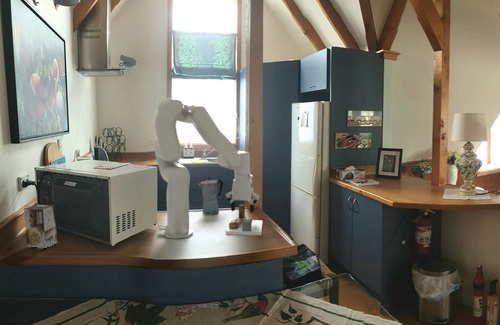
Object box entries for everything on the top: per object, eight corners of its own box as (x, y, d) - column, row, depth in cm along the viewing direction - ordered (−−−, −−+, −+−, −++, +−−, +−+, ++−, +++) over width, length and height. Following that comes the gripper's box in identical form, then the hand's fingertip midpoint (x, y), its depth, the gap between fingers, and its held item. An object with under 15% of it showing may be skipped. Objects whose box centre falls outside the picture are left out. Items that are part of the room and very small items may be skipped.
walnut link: (236, 228, 156) (236, 212, 155) (227, 227, 157) (227, 211, 156) (246, 219, 170) (247, 205, 169) (238, 219, 171) (238, 204, 170)
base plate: (225, 234, 154) (225, 231, 154) (230, 222, 172) (230, 219, 172) (261, 235, 153) (261, 232, 153) (262, 223, 171) (262, 220, 171)
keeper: (229, 230, 154) (229, 222, 154) (231, 226, 161) (231, 218, 160) (251, 231, 154) (251, 223, 153) (252, 226, 160) (252, 219, 160)
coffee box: (58, 243, 141) (55, 205, 139) (45, 249, 135) (43, 209, 133) (39, 241, 143) (36, 204, 141) (26, 247, 136) (23, 207, 134)
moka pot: (194, 213, 189) (194, 177, 186) (217, 208, 199) (216, 174, 197) (204, 216, 182) (204, 179, 179) (227, 211, 192) (227, 176, 190)
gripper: (261, 176, 167) (261, 210, 169) (228, 175, 173) (229, 208, 175) (256, 179, 160) (257, 214, 162) (222, 177, 165) (223, 212, 168)
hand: (242, 211), depth 168 cm, fingers open, 9 cm apart
